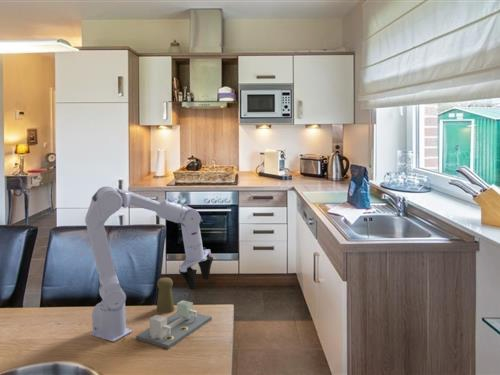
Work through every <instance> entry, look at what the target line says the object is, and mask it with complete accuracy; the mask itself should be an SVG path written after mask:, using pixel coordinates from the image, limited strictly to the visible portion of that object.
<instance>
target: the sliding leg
mask: <svg viewBox="0 0 500 375" xmlns="http://www.w3.org/2000/svg"><path fill="white" fill-rule="evenodd" d="M176 312H177V316H181V317H185V318H188V317H190V316H191V315H193V314H194V320H196V314H197V313H198V310H194V302H191V301H187V300H185V299H184V300H180V301H179V302H177V303H176Z"/></svg>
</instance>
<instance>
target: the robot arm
mask: <svg viewBox="0 0 500 375" xmlns="http://www.w3.org/2000/svg"><path fill="white" fill-rule="evenodd" d="M131 206H135V207H138V208H141V209H145V210H148V211H152V212H155V214H156V216H157V217H158V218H160V219H163V220H167V221H170V222H173V223H175V224H180V226H181V228H180V229H181V234H182V240H183V247H184V253H185V259H184V261H182V262H181V264H180V265H179V269H178V272H179V274H180V275H181V276H182V278H183V279H184V280H185V282H186V284H187V286H188V289H189V290H195V291H196V290H197V281H196V276H197V271H198V270H197V269H193V267H194V266H195V265H198V267H199V269H200V272H201V277H202V280H206V281H207V280H208V281H209V279H210V276H211V273H210V272H211V268H212V263H213V261H214V257H213V256H212V252H211V249H209V248H208V249H207V248H204V247H203V240H202V235H201V234H202V232H201V229H200V228H201V227H200V223H201V221H202V216H201V215H200V213H199V212H198V211H197V210H196V209H195V208H192V207H190V206H188V205H187V204H184V203H183V204H179V203H177V202H175V201H174V200H173V199H170V198H167V199H166V198H165V199H162V200H160V201H157V200H154V199H152V198H148V197H147V196H143V195H141V194H139V193H136V192H133V191H129V190H125V189H121V188H115V189H114V188H113V187H110V186H102V187H100V188H98V189H97V191H96V192H95V193H94V194H93V195H92V196H91V201H90V204H89V207H88V210H87V212H86V215H85V218H84V221H85V225H86V230H87V233H88V237H89V241H90V246H91V249H92V253H93V257H94V261H95V265H96V270H97V273H98V280H99V288H98V294H99V297H101V302H98V303H97V304H96V305H95V306H94V307H93V309H92V313H91V314H92V315H91V320H92V321H91V322H92V332H90V336H93V337H96V338H100V339H103V340H106V341H109V342H112V343H113V342H116V341H118V340H120V339H121V338H123V337H125V336H127V335H128V334H130V333H132V332H133V329H131V328H128V327H127V326H126V323H127V322H126V300H127V295H126V292H125V291H124V290H123V288H122V287H121V285H120V282H119V278H118V276H117V273H116V268H115V265H114V260H113V256H112V253H111V248H110V244H109V240H108V236H107V232H106V228H105V223H106V222H107V221H108V220H109V218H110V217H111V216H113V215H114V214H115V213H116V212H118V211H119V210H120V209H121V208H123V209H125V208H129V207H131Z"/></svg>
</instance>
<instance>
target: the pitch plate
mask: <svg viewBox="0 0 500 375" xmlns="http://www.w3.org/2000/svg"><path fill="white" fill-rule="evenodd" d="M211 321H212V316H210V315H206V314H201V313H198V312H197V314H196V320H194V314H193V315H191V316H190V317H188V318H185V317H181V316H177V311H176V312H175V313H173V314H170V315H169V316H162V315H160V314H159V315H158V314H155V315H154V316H151V317H150V318H149V328H147V329H145V330H144V331H142V332H140V333H138V334H136V335H135V339H136V340H139V341H140V342H141V341H142V342H145V343H148V344H152V345H155V346H159V347H161V348H165V349H168V350H169V349H171V348H173V347H174V346H175V345H176V344H178V343H180V342H181V341H182V340H184V339H185V338H187V337H188V336H190V335H191V334H193V333H194V332H196V331H197V330H199V329H200V328H202V327H203V326H204V325H206V324H208V323H209V322H211Z"/></svg>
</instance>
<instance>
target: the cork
mask: <svg viewBox="0 0 500 375" xmlns="http://www.w3.org/2000/svg"><path fill="white" fill-rule="evenodd" d="M156 282H157V283H156V286H157V288H158V294H157V304H156V312H157V313H159V314H169V313H172V312H174V311H175V304H174V297H173V291H172V287H174V286H173V284H174V282H173V280H172V278H170V277H160V278H159V279H158V280H157V281H156Z"/></svg>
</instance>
